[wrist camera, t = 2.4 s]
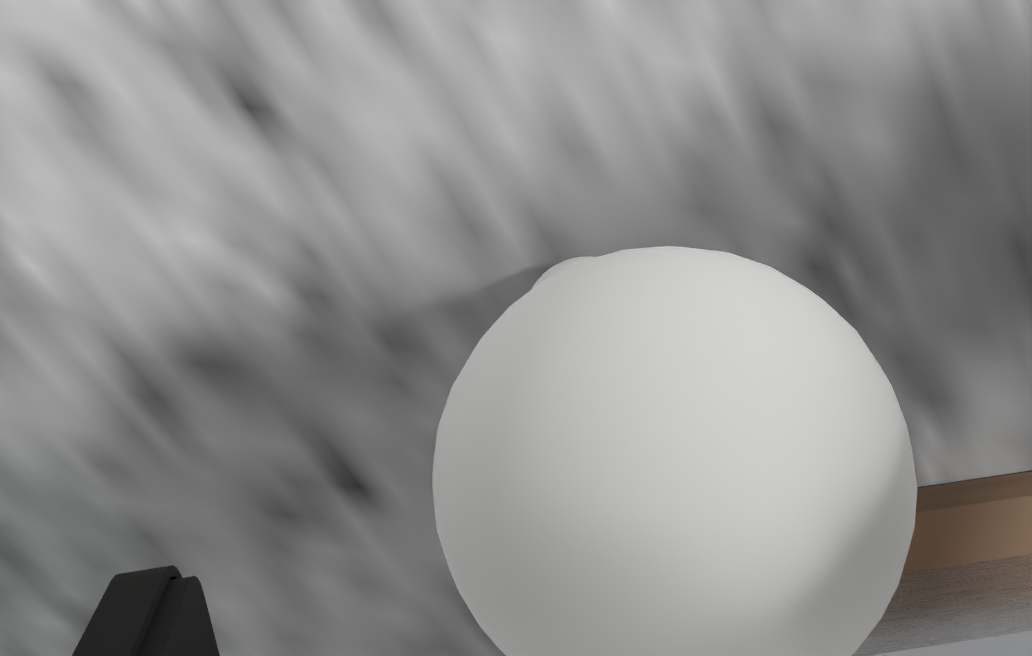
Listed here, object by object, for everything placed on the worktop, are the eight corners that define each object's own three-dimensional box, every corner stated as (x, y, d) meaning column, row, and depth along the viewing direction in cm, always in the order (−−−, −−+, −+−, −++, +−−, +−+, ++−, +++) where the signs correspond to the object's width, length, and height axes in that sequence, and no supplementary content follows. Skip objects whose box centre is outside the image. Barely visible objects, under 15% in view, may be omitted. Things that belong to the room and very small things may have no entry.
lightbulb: (592, 93, 19) (786, 193, 8) (779, 307, 21) (1133, 609, 10) (370, 302, 20) (301, 623, 9) (568, 490, 22) (694, 938, 11)
